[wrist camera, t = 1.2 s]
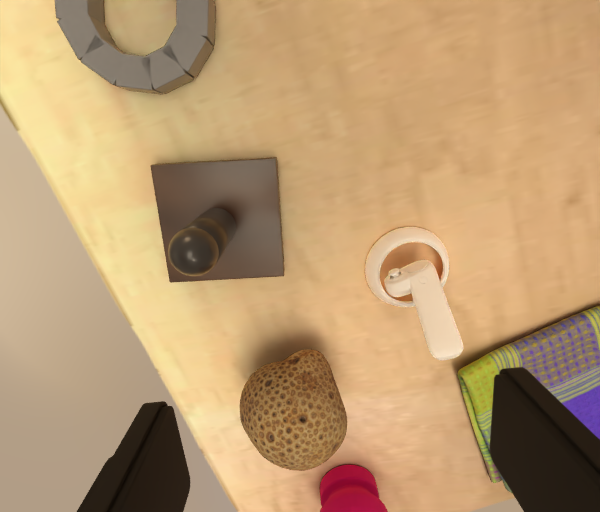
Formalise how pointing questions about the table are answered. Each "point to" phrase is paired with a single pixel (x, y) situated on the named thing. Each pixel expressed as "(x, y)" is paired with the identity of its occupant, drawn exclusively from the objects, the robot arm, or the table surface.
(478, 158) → the table surface
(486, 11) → the table surface
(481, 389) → the dish towel
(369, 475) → the pepper mill
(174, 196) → the spindle
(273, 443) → the natural sponge
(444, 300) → the white lever handle
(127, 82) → the grey ring
